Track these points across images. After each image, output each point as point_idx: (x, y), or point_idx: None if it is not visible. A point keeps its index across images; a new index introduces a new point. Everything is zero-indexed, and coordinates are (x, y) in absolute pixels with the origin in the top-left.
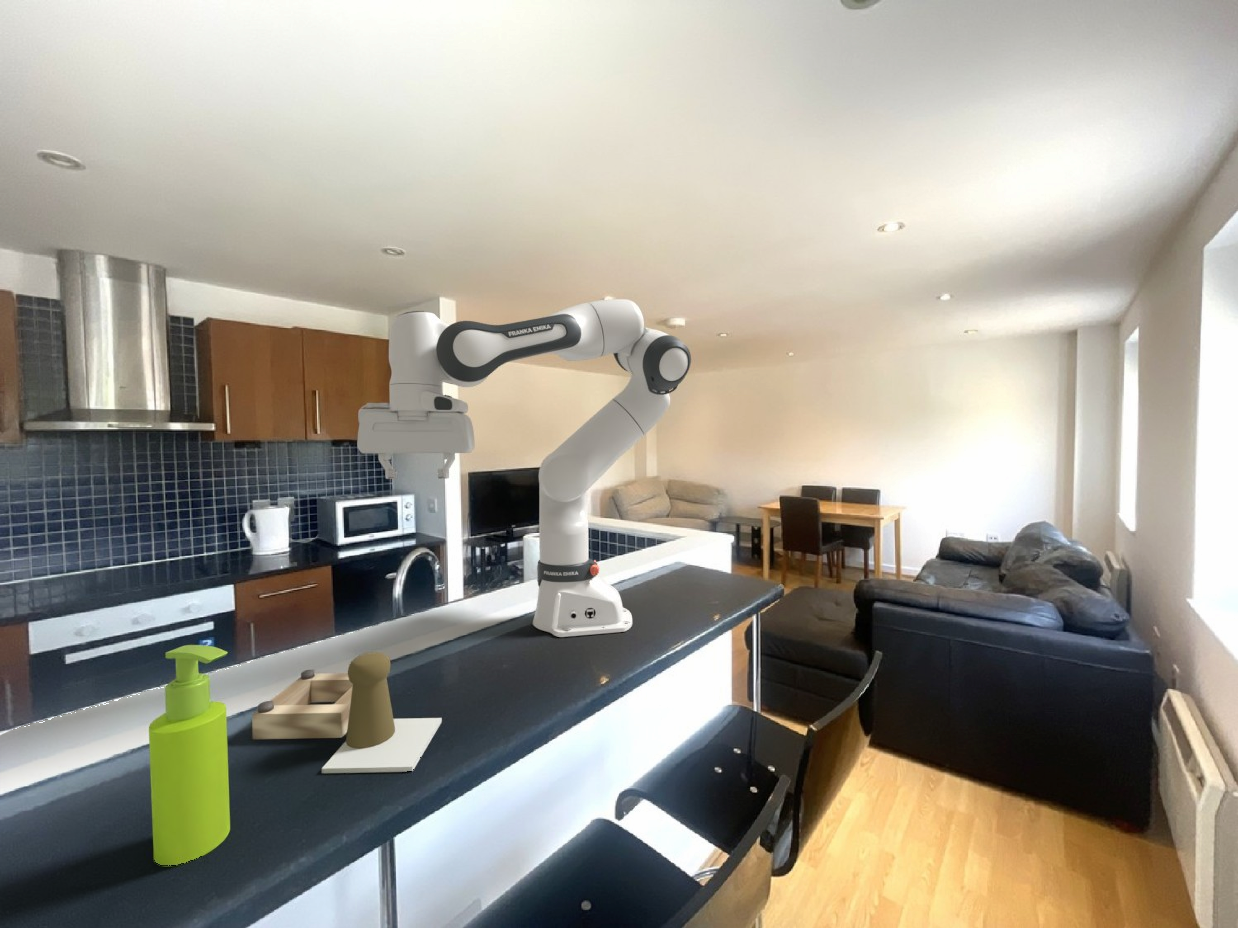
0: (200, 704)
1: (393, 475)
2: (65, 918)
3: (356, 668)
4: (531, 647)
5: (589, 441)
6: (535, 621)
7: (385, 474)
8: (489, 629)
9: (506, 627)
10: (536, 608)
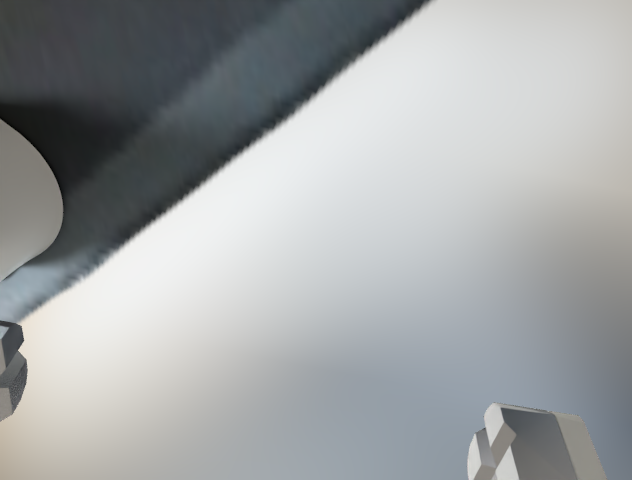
0: None
1: (502, 419)
2: None
3: None
4: (28, 24)
5: None
6: (43, 177)
7: (591, 441)
8: (176, 180)
9: (131, 184)
10: (30, 210)
